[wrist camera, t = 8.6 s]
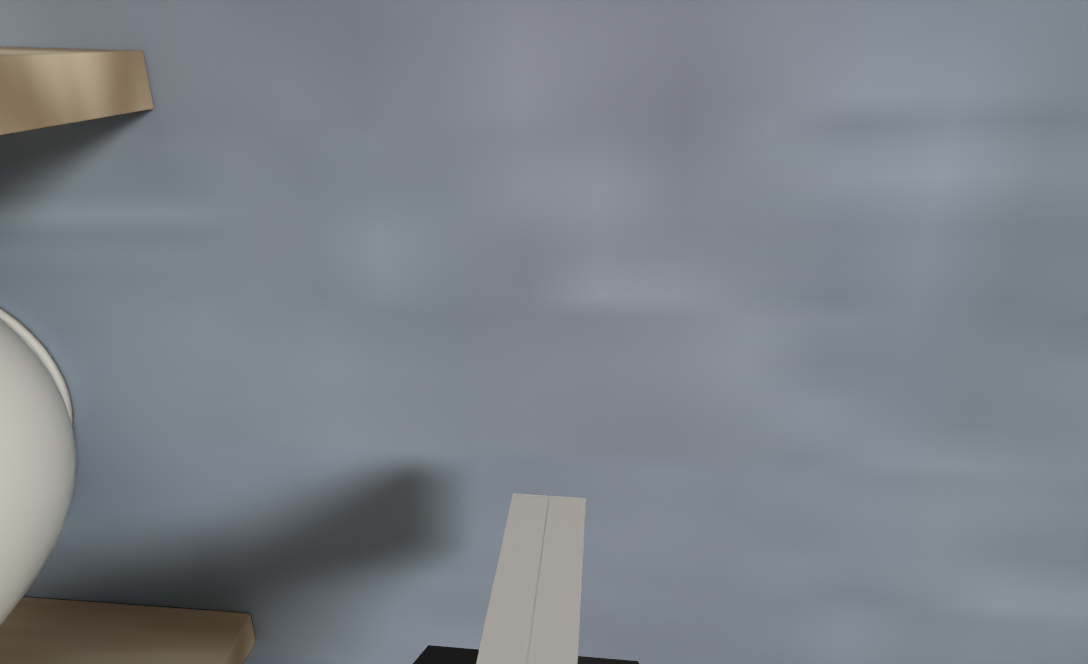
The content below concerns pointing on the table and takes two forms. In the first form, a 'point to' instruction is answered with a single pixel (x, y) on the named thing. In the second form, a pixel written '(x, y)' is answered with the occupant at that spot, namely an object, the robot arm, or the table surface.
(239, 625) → the bay
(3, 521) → the lidded jar
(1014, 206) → the table surface
